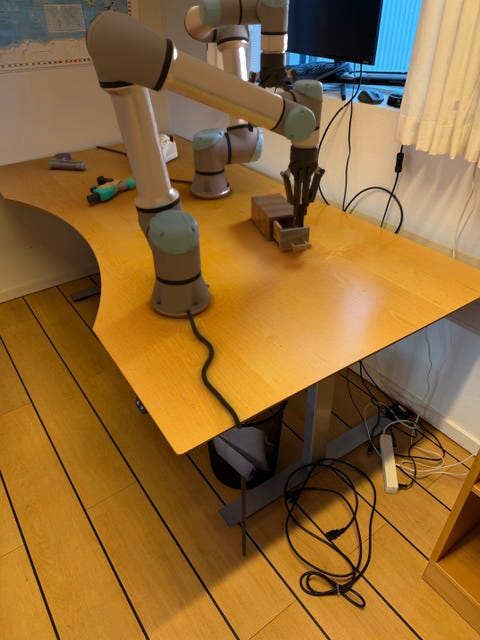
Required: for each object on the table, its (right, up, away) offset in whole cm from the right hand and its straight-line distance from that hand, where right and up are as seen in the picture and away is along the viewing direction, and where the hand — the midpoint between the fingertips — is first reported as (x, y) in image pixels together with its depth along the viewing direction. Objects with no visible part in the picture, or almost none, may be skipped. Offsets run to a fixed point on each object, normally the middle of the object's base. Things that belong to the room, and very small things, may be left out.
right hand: (271, 129), depth 148 cm
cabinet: (+2, -28, +14) cm, 31 cm away
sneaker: (-47, +12, +69) cm, 85 cm away
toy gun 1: (-87, +11, +69) cm, 112 cm away
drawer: (+6, -34, +4) cm, 35 cm away
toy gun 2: (-64, -10, +40) cm, 76 cm away
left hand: (+8, -32, -7) cm, 33 cm away
